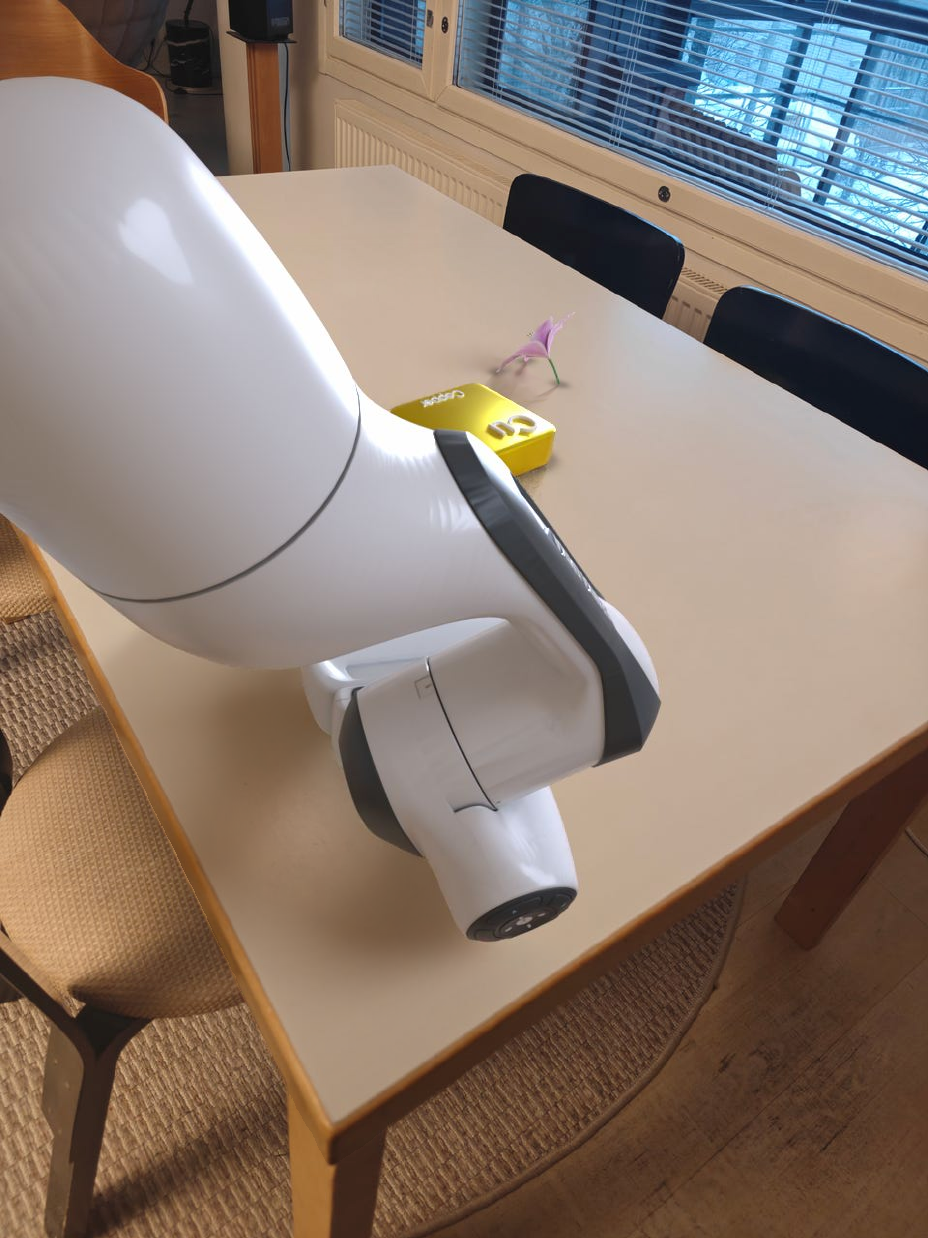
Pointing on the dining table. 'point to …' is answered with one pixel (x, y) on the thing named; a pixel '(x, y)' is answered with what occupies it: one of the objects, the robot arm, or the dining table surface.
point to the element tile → (486, 423)
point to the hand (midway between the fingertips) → (413, 599)
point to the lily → (539, 343)
